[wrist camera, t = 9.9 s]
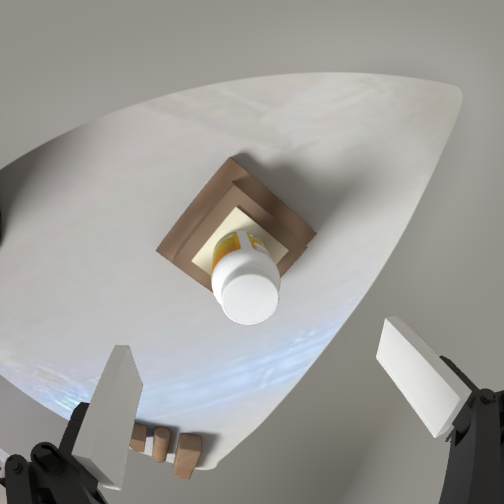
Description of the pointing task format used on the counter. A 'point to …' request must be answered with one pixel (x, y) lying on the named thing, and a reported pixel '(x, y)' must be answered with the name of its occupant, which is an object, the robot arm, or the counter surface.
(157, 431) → the wooden block set
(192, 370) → the counter surface
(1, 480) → the glass holder
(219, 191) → the plinth
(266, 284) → the supplement bottle
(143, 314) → the counter surface
